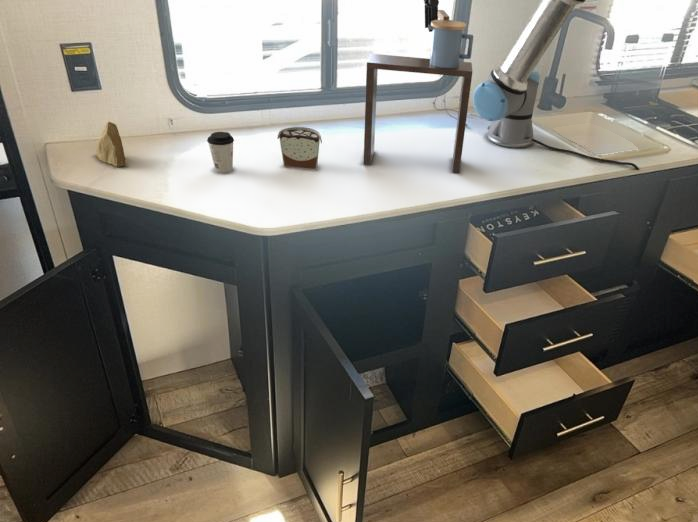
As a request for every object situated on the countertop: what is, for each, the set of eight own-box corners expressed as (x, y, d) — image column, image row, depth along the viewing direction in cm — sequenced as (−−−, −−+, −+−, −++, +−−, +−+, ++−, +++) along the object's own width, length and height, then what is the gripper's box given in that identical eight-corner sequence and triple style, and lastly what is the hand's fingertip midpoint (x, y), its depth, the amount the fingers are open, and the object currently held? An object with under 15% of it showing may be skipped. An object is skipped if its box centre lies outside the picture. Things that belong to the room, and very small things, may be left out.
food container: (326, 162, 174) (325, 128, 169) (321, 170, 169) (321, 136, 164) (284, 158, 175) (282, 124, 169) (278, 166, 170) (276, 131, 164)
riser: (459, 160, 183) (471, 62, 166) (459, 173, 174) (472, 71, 158) (367, 151, 183) (371, 53, 167) (363, 164, 175) (366, 62, 159)
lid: (456, 17, 169) (457, 10, 168) (469, 31, 154) (469, 24, 153) (424, 15, 168) (424, 9, 167) (433, 29, 153) (434, 22, 152)
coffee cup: (214, 176, 161) (209, 140, 156) (208, 167, 166) (203, 131, 161) (239, 173, 164) (236, 137, 159) (233, 163, 169) (229, 129, 164)
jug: (469, 63, 166) (474, 25, 160) (469, 70, 159) (474, 31, 154) (425, 59, 166) (429, 21, 160) (424, 66, 159) (427, 27, 154)
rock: (134, 159, 162) (135, 141, 169) (108, 136, 156) (110, 118, 163) (105, 182, 164) (107, 163, 171) (78, 160, 158) (81, 142, 165)
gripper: (414, -49, 185) (416, 26, 195) (420, -52, 163) (422, 33, 173) (438, -50, 185) (439, 25, 195) (448, -53, 163) (448, 32, 173)
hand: (431, 29), depth 184 cm, fingers open, 13 cm apart
